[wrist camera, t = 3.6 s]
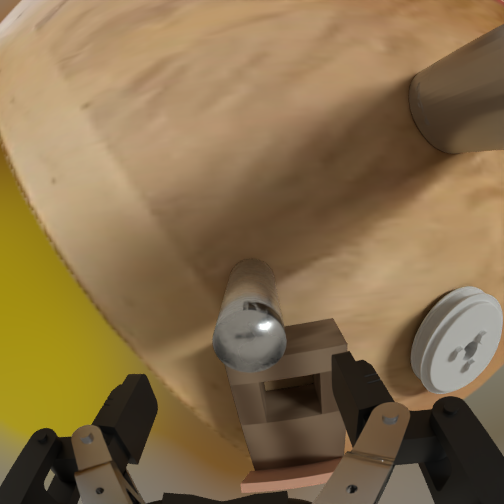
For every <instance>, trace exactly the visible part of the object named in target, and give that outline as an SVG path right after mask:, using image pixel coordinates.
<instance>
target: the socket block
mask: <svg viewBox="0 0 504 504" xmlns="http://www.w3.org/2000/svg"><path fill="white" fill-rule="evenodd" d="M284 329H285V334H286V348H285V351H284V354H283V356H282V357H281V359H280V360H279V361H278V362H277V363H276V364H275V365H273V366H272V367H270V368H268V369H266V370H263V371H260V372H253V373H246V372H240V371H236V370H234V369H232V368H230V367H228V366H226V365H225V368H226V372H227V376H228V379H229V383H230V387H231V391H232V394H233V398H234V402H235V405H236V409H237V412H238V416H239V419H240V423H241V426H242V430H243V433H244V436H245V440H246V443H247V446H248V450H249V453H250V456H251V459H252V463H253V466H254V469H255V471H257V470H268V469H278V468H286V467H293V466H300V465H306V464H312V463H318V462H323V461H328V460H333V459H338V458H342V457H343V456H344V448H345V434H346V428H345V425H344V422H343V419H342V417H341V414H340V411H339V408H338V406H337V403H336V400H335V398H334V395H333V390H332V366H331V357H332V355H333V354H338V353H343V352H347V343H346V341H345V339H344V337H343V335H342V333H341V332H340V330H339V328H338V326H337V324H336V323H335V321H334V319H333V318H332V319H326V320H321V321H315V322H310V323H304V324H298V325H292V326H286V327H284ZM311 374H313V381H314V384H309V385H303V386H297V387H291V388H285V389H278V390H270V391H265V386H264V382H266V381H274V380H281V379H287V378H294V377H300V376H306V375H311Z"/></svg>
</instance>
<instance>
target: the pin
mask: <svg viewBox="0 0 504 504" xmlns="http://www.w3.org/2000/svg"><path fill="white" fill-rule="evenodd" d="M213 348H214V351H215V353H216V355H217V357H218V358H219V359H220V360H221V361H222V362H223V363H224V364H225V365H226V366H228V367H230V368H232V369H234V370H236V371H240V372H246V373H253V372H260V371H263V370H266V369H268V368H270V367H272V366H273V365H275V364H276V363H277V362H278V361H279V360H280V359H281V357H282V356H283V354H284V351H285V348H286V334H285V329H284V324H283V319H282V314H281V309H280V304H279V298H278V293H277V288H276V283H275V278H274V274H273V272H272V270H271V268H270V267H269V266H268V265H267V264H266V263H264V262H263V261H260V260H257V259H247V260H243V261H241V262H239V263H238V264H237V265H236V266H235V267H234V268H233V270H232V271H231V274H230V277H229V281H228V284H227V288H226V291H225V295H224V298H223V302H222V305H221V309H220V312H219V316H218V320H217V323H216V327H215V330H214V334H213Z"/></svg>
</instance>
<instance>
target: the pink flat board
mask: <svg viewBox="0 0 504 504" xmlns="http://www.w3.org/2000/svg"><path fill="white" fill-rule="evenodd" d="M342 458H343V457H342ZM342 458H338V459H333V460H328V461H323V462H318V463H312V464H306V465H300V466H293V467H286V468H278V469H268V470H257V471H250V472H249V474H248V475H247V476H246V478H245V479H244V480H243V481H242V483H241V489H242V493H247V492H263V491H274V490H283V489H292V488H299V487H305V486H312V485H318V484H323V483H327V481H328V480H329V478H330V477H331V475H332V474H333V472H334V470H335V469H336V467H337V466H338V464H339V462H340V461H341V459H342Z"/></svg>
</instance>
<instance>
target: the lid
mask: <svg viewBox="0 0 504 504" xmlns="http://www.w3.org/2000/svg"><path fill="white" fill-rule="evenodd" d="M502 324H503V315H502V310H501V306H500V304H499V302H498V301H497V300H496V299H495V298H494V297H493V296H491V295H489V294H486V293H484V292H483V291H482V290H480V289H478V288H476V287H472V286H466V287H461V288H458V289H456V290H454V291H452V292H450V293H449V294H447V295H446V296H444V297H443V298H442V299H441V300H440V301H438V303H437V304H436V305H435V306H434V307H433V308H432V309H431V310H430V311H429V313H428V314H427V315H426V317H425V318H424V320H423V321H422V323H421V325H420V327H419V329H418V331H417V333H416V335H415V338H414V341H413V345H412V349H411V365H412V369H413V371H414V373H415V374H416V376H417V377H418V378H419V379H420V380H421V381H422V383H423V385H424V386H425V388H426V389H427V390H429V391H430V392H433V393H436V394H445V393H449V392H452V391H455V390H458V389H460V388H462V387H464V386H466V385H467V384H469V383H470V382H471V381H473V380H474V379H475V378H476V377H477V376H478V375H479V374H480V373H481V372H482V371H483V370H484V369H485V367H486V366H487V365H488V363H489V362H490V360H491V359H492V357H493V355H494V353H495V351H496V349H497V347H498V344H499V341H500V337H501V332H502Z"/></svg>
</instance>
